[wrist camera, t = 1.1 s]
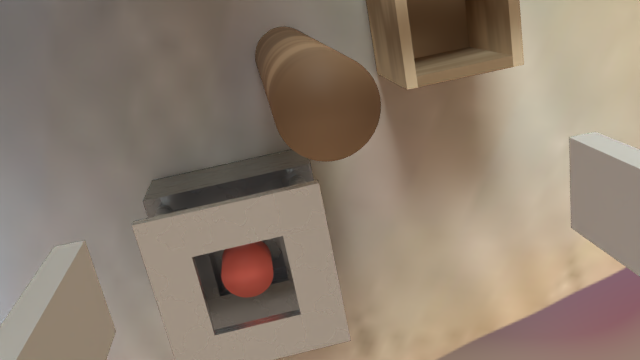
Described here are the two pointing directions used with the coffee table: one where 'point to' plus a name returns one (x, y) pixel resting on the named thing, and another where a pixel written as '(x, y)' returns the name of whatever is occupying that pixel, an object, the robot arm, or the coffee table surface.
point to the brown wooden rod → (317, 95)
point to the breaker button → (247, 269)
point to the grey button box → (236, 230)
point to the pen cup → (444, 39)
